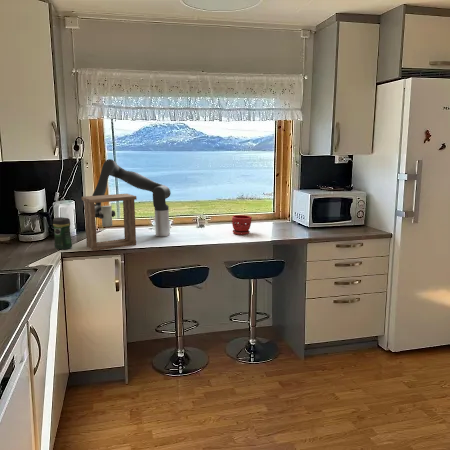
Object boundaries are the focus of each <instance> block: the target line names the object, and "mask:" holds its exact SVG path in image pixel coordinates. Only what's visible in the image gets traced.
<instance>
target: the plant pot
mask: <svg viewBox="0 0 450 450" xmlns="http://www.w3.org/2000/svg"><path fill="white" fill-rule="evenodd" d="M231 218H232V219H231V223H232V224H231V225H232V228H233V230H232V233H233V234H234V235H238V236H239V235H240V236H245V235H249V234H250V229H251V225H252V216H249V215H245V214H244V215H243V214H239V215H238V214H236V215H232V217H231Z"/></svg>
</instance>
